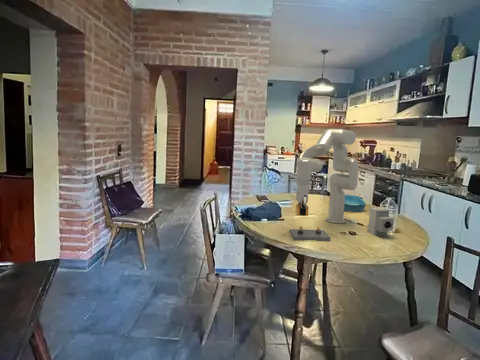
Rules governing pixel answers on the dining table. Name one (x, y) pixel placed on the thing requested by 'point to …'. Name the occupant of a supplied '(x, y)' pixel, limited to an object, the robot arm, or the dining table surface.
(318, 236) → the plate
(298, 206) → the orange panelled cube
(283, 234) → the dining table surface
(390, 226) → the circuit breaker
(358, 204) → the casserole dish
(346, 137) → the robot arm
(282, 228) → the dining table surface
